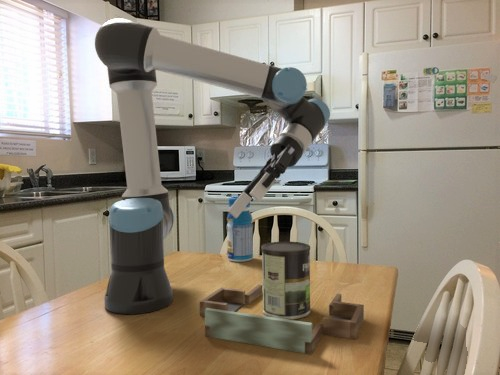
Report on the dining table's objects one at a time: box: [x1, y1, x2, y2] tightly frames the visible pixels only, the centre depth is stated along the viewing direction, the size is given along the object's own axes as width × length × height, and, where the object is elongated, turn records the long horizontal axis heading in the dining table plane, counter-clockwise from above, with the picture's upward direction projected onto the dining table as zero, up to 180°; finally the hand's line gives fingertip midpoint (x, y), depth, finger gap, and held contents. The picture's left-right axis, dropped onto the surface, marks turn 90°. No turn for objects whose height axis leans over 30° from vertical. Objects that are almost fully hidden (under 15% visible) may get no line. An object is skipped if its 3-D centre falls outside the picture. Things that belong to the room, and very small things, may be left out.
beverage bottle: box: [226, 196, 254, 263], centre depth 136 cm, size 8×8×20 cm
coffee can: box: [261, 240, 311, 320], centre depth 90 cm, size 10×10×14 cm
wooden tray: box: [199, 284, 365, 355], centre depth 86 cm, size 32×26×5 cm
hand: (242, 206), depth 94 cm, fingers open, 13 cm apart
